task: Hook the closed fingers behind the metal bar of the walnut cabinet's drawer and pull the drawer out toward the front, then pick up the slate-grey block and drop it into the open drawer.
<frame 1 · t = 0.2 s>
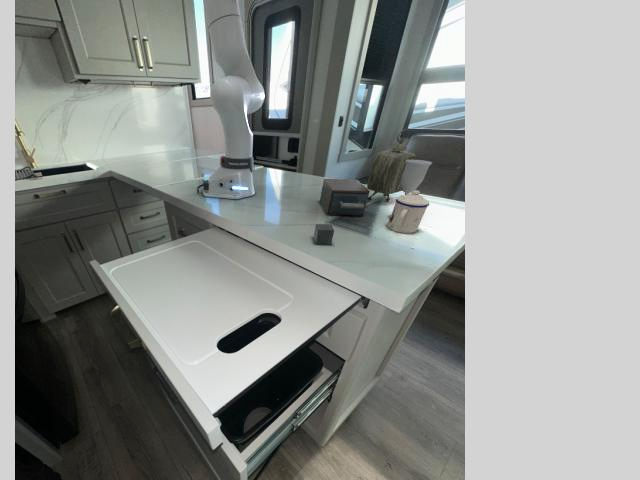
block: (321, 241, 78), on the worktop
cabinet: (339, 208, 101), on the worktop
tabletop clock: (382, 201, 109), on the worktop
drawer: (345, 200, 95), point 4 cm above the worktop, slide at 0.0 cm, touching cabinet
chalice: (397, 218, 94), on the worktop
teacup with lid: (400, 230, 86), on the worktop
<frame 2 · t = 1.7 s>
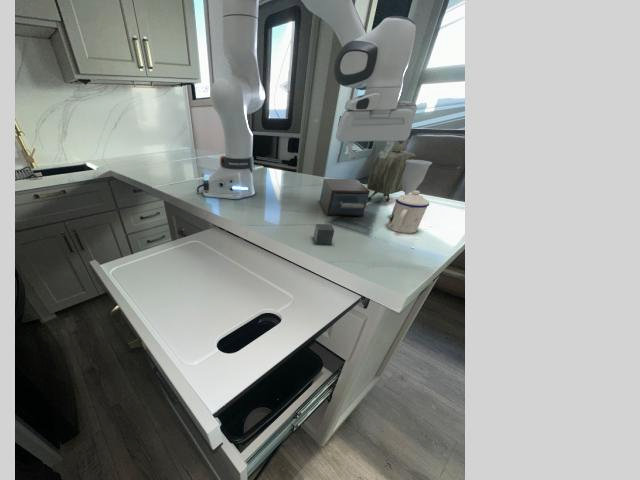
hand: (366, 158, 81), 19 cm above the worktop, tool pointing down, fingers open, 8 cm apart
nothing on the worktop moved.
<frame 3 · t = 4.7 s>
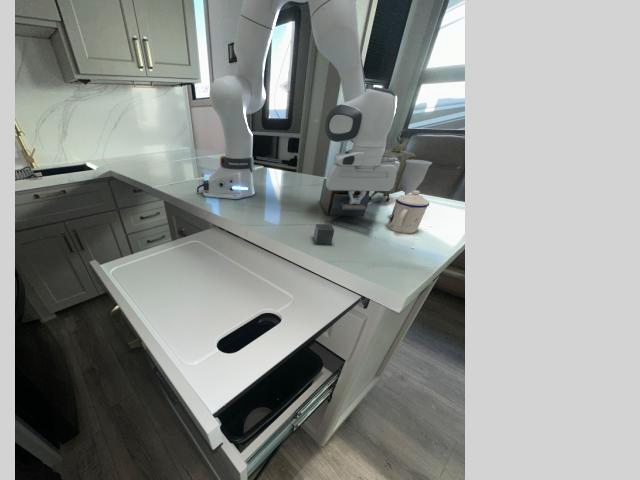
hand: (354, 204, 87), 6 cm above the worktop, tool pointing down, fingers closed, pressing on drawer
drawer: (346, 201, 94), point 4 cm above the worktop, slide at 1.5 cm, touching gripper
everything else where it was.
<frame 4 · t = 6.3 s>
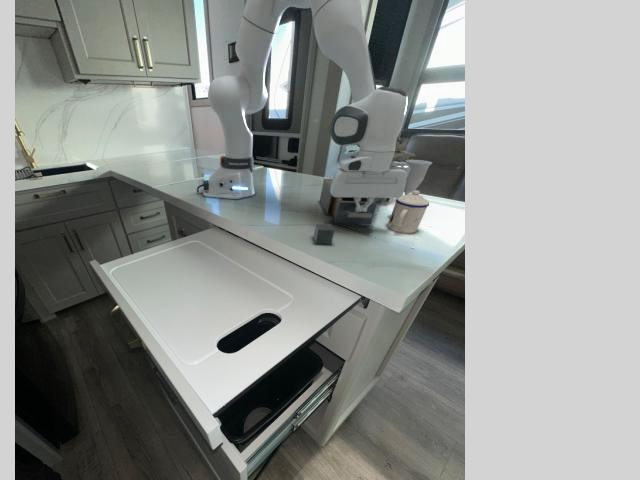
hand: (360, 211, 81), 6 cm above the worktop, tool pointing down, fingers closed, pressing on drawer
drawer: (351, 208, 89), point 4 cm above the worktop, slide at 8.7 cm, touching gripper
everything else where it was.
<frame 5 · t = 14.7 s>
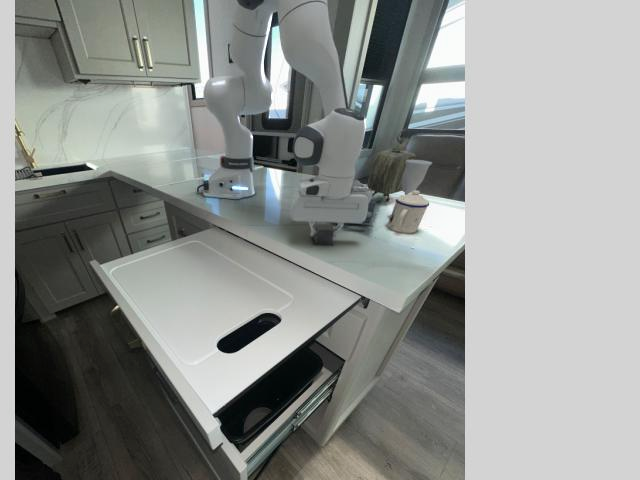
hand: (322, 235, 77), 2 cm above the worktop, tool pointing down, fingers closed on block, 4 cm apart
block: (321, 241, 78), on the worktop, touching gripper
drawer: (350, 207, 89), point 4 cm above the worktop, slide at 7.9 cm
everything else where it was.
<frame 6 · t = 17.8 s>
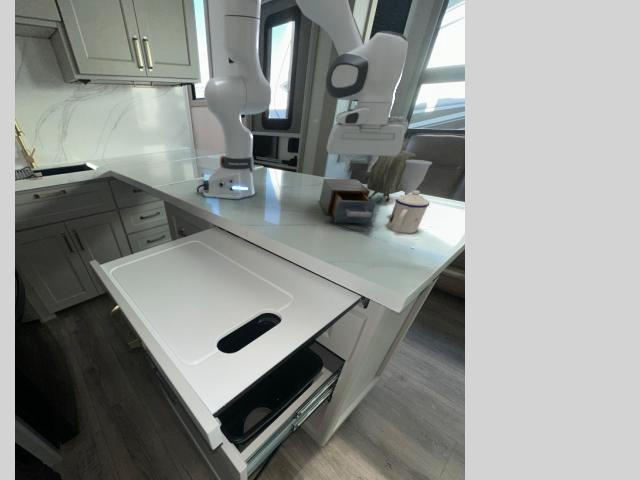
hand: (356, 171, 80), 16 cm above the worktop, tool pointing down, fingers closed on block, 4 cm apart
block: (355, 177, 81), point 14 cm above the worktop, touching gripper
everything else where it was.
when the fingers open (7 cm above the worktop, at t = 21.3 s): block stays where it is, resting on drawer.
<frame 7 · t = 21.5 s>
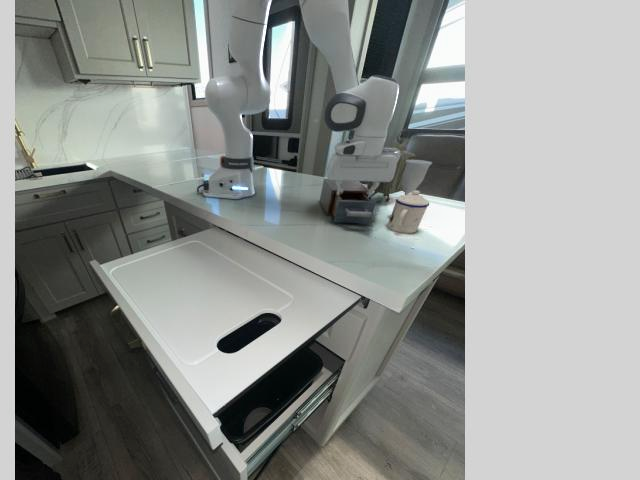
hand: (353, 195, 87), 8 cm above the worktop, tool pointing down, fingers open, 8 cm apart
block: (348, 213, 91), point 2 cm above the worktop, touching drawer
drawer: (350, 207, 89), point 4 cm above the worktop, slide at 7.6 cm, touching block
everything else where it was.
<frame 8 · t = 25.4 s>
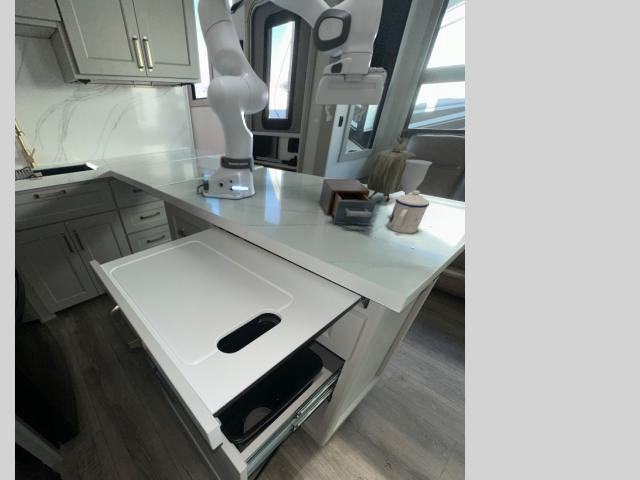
hand: (342, 121, 90), 27 cm above the worktop, tool pointing down, fingers open, 8 cm apart
nothing on the worktop moved.
at the end: drawer slide at 7.6 cm; block inside the target area in the drawer (1.2 cm from its centre), point 2.0 cm above the cabinet's base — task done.
